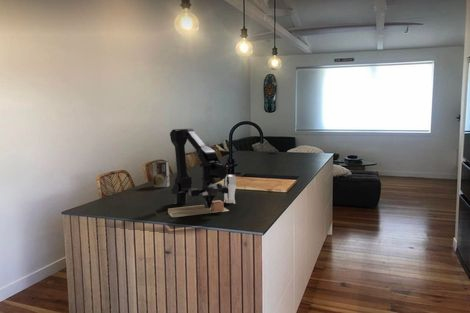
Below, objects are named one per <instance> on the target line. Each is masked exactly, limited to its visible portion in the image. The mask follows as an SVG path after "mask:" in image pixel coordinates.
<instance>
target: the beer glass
mask: <svg viewBox="0 0 470 313" xmlns="http://www.w3.org/2000/svg"><path fill="white" fill-rule="evenodd" d="M222 186H226V187H227V188H228V189H229V193H225V194H223V196H224V198H223V202H224V204H225V203H226V204H236V199H235V194H236V187H237V180H236V174H227V175H226V177H225V178H224V179H222Z"/></svg>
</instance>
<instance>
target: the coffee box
mask: <svg viewBox="0 0 470 313" xmlns="http://www.w3.org/2000/svg"><path fill="white" fill-rule="evenodd" d="M169 162H170V161H169V160H167V161H166V160H165V161H160V160H159V161H154V162H152V175H153V188H169V186H170V166H169V164H170V163H169Z"/></svg>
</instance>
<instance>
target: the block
mask: <svg viewBox="0 0 470 313" xmlns="http://www.w3.org/2000/svg"><path fill="white" fill-rule="evenodd" d="M224 204H225V202H224V201H222V200H220V199H218V200H217V199H216V200H213V201H212V204H211V207H210V208H211V210H213V211H214V212H215V211H223V210H224V208H225V207H224ZM223 212H224V211H223ZM215 213H216V212H215Z"/></svg>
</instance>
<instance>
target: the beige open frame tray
mask: <svg viewBox="0 0 470 313" xmlns="http://www.w3.org/2000/svg"><path fill="white" fill-rule="evenodd" d="M205 205H206V204H200V205H190V206H183V207H182V206H181V207H172V208H167V213H168V215H169V216H170V217H171V218H179V217H187V216H189V217H190V216H196V215H203V214H204V215H205V214H214V213H220V212H222V213H223V212H230V210H229V209H228V208H227V207H224V210H223V211H215V212H214V211H213V210H211V207H210V209H209V208H208V207H207V208H206V206H205Z"/></svg>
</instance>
